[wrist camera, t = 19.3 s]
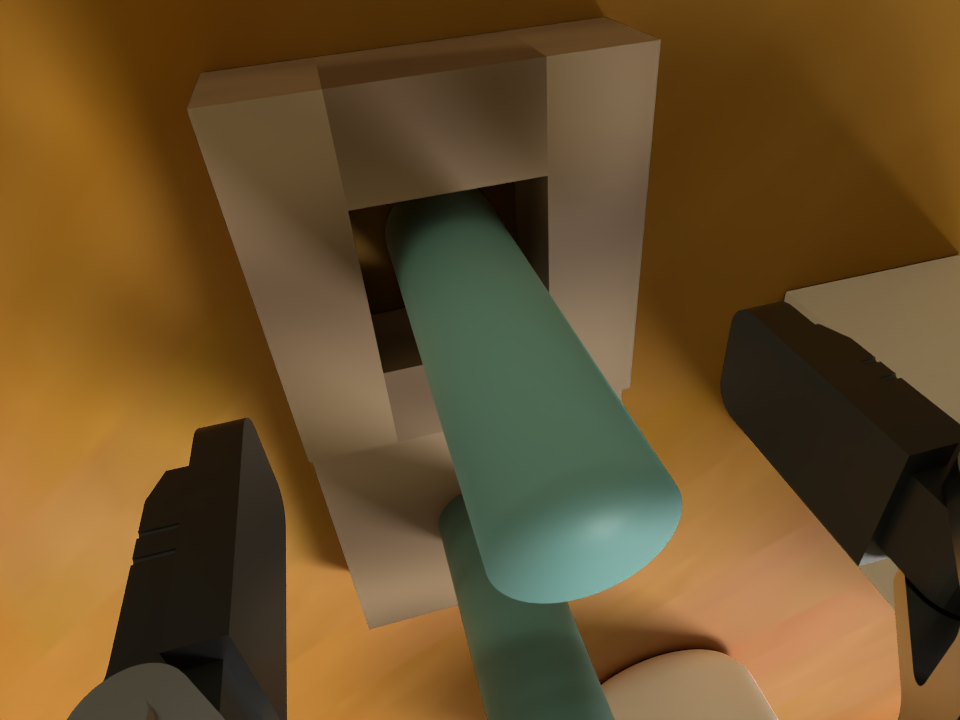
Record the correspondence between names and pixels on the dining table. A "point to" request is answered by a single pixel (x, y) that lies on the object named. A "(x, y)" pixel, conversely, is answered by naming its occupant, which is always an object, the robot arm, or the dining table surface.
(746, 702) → the cup
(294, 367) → the board
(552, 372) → the pin
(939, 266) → the block
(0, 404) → the dining table surface
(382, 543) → the board
